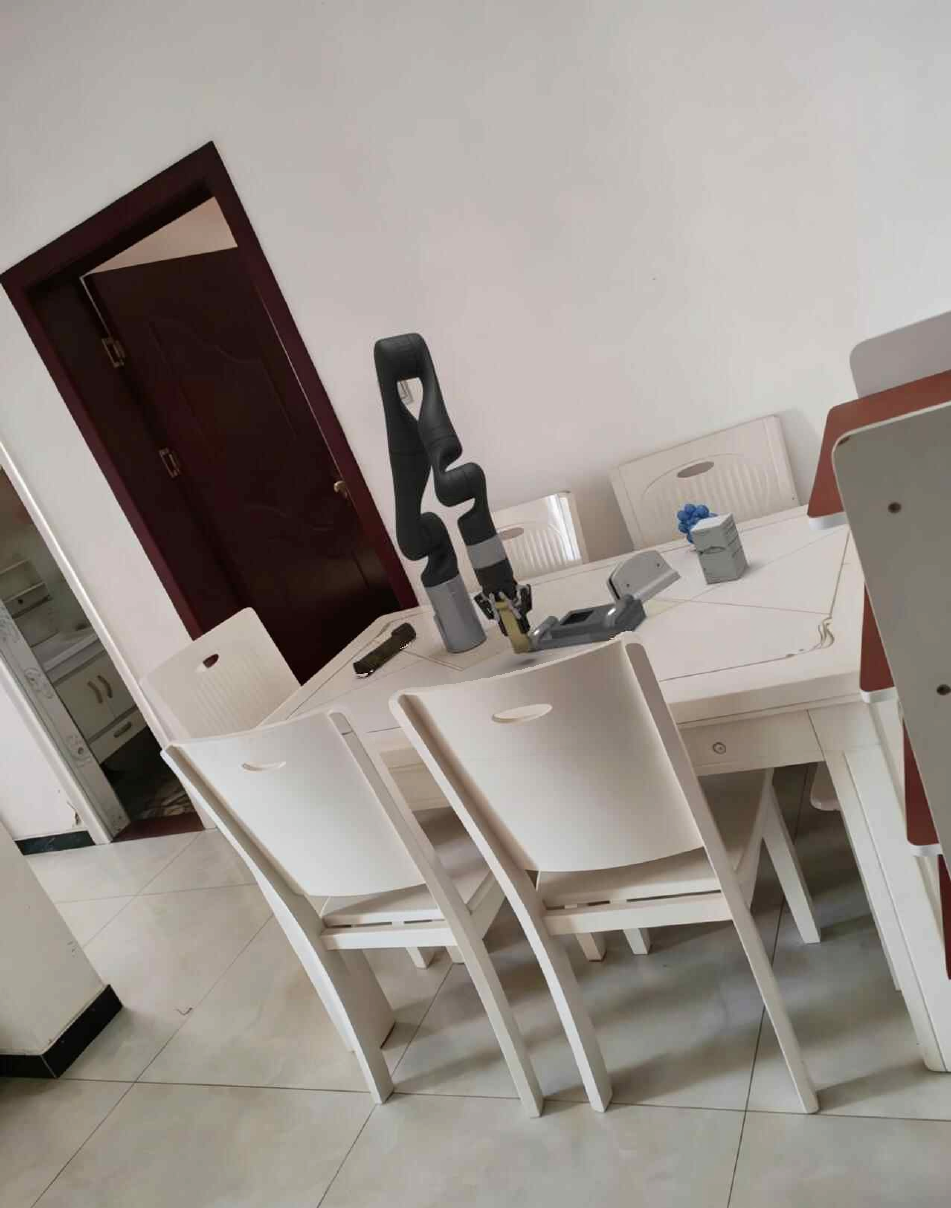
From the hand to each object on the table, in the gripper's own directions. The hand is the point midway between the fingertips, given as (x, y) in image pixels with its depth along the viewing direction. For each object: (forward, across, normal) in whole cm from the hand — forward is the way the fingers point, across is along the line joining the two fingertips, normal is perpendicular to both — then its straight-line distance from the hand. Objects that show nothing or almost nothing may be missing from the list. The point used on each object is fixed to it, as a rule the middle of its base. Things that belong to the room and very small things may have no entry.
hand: (517, 633), depth 198 cm
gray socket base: (+7, +8, +10) cm, 15 cm away
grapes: (+7, +22, +52) cm, 56 cm away
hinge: (+7, +15, +30) cm, 34 cm away
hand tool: (+8, -53, +15) cm, 56 cm away
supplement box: (+6, +34, +32) cm, 47 cm away
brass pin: (+4, 0, 0) cm, 4 cm away
